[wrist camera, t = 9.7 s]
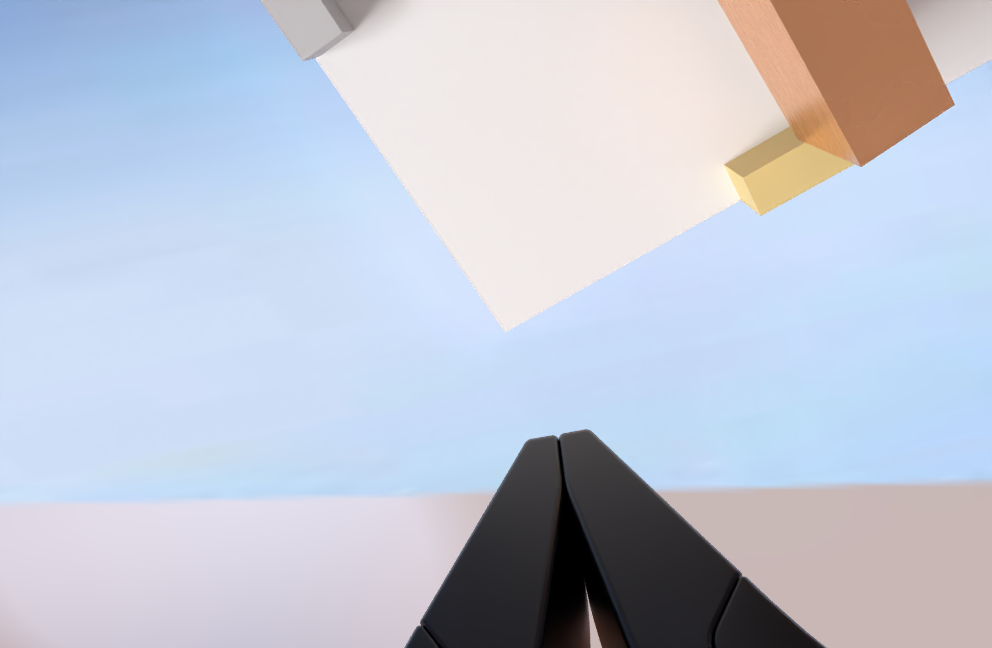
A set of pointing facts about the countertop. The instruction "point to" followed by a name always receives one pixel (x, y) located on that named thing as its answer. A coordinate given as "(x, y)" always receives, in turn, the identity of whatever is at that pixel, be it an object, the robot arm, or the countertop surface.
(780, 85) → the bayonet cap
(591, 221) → the coupling board
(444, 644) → the robot arm
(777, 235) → the countertop surface
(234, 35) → the countertop surface
